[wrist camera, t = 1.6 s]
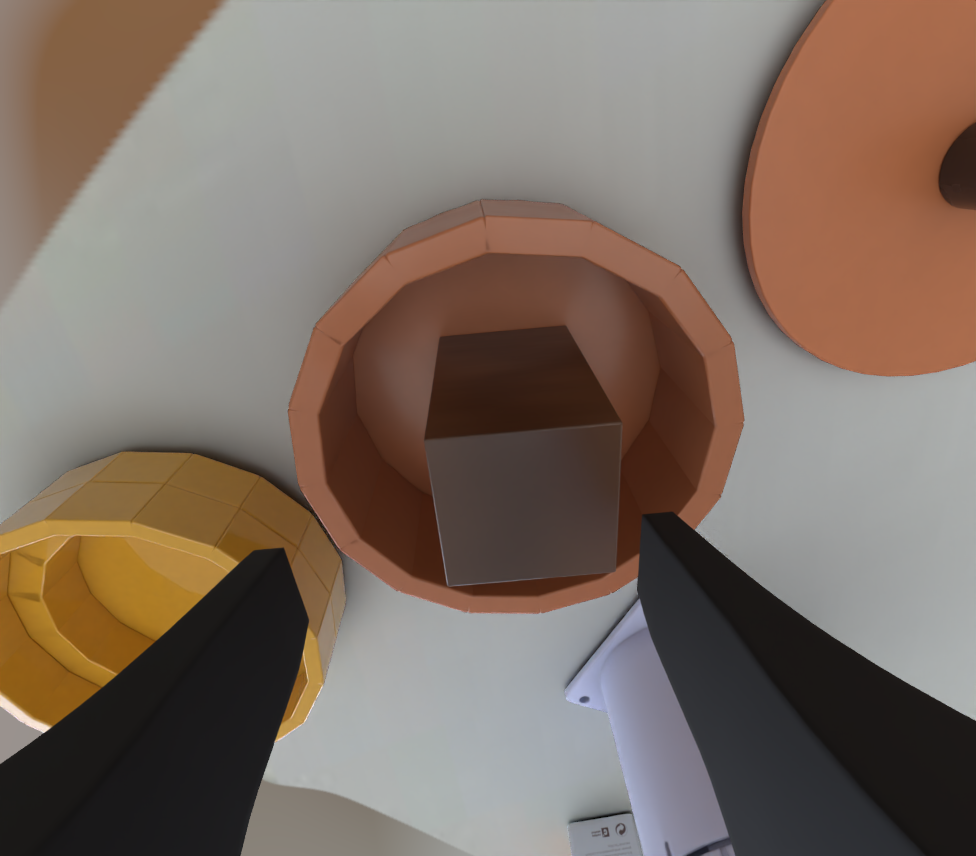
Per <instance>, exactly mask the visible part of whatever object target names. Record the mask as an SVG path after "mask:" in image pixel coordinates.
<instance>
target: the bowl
mask: <svg viewBox="0 0 976 856" xmlns="http://www.w3.org/2000/svg"><path fill="white" fill-rule="evenodd" d="M282 547H284V549H285V552H286V555H287V558H288V561H289V563H290V566H291V569H292V572H293V575H294V578H295V581H296V583H297V586H298V589H299V592H300V595H301V598H302V600H303V603H304V606H305V609H306V612H307V615H308V618H309V624H308V629H307V634H306V640H305V645H304V650H303V654H302V659H301V663H300V668H299V671H298V675H297V678H296V681H295V684H294V687H293V690H292V693H291V696H290V699H289V702H288V705H287V708H286V711H285V714H284V717H283V719H282V722H281V725H280V728H279V731H278V734H277V737H276V740H275V743H276V742H277V741H279V740H280V739H282V738H283V737H284V736H286V735H287V734H289V733H290V732H292V731H293V730H295V729H296V728H297V727H299V726H300V725H302V724H303V723H304V722H305V721H306V720H307V718H308V716H309V714H310V712H311V710H312V708H313V706H314V704H315V701H316V699H317V697H318V695H319V693H320V691H321V689H322V687H323V685H324V682H325V679H326V675H327V671H328V668H329V664H330V660H331V656H332V653H333V649H334V645H335V641H336V638H337V634H338V631H339V627H340V623H341V619H342V616H343V612H344V608H345V605H346V594H345V585H344V576H343V566H342V559H341V558H340V556H339V554H338V553H337V551H336V550H335V548H334V546H333V545H332V543H331V542H330V540H329V539H328V537H327V536H326V534H325V533H324V531H323V530H322V528H321V526H320V525H319V523H318V522H317V520H316V519H315V517H314V516H313V515H312V514H311V512H309V511H308V510H307V509H305V508H304V507H302V506H301V505H300V504H298V503H297V502H296V501H294V500H293V499H292V498H290V497H289V496H287V495H286V494H285V493H283V492H282V491H281V490H279V489H278V488H277V487H275V486H274V485H272V484H271V483H270V482H268V481H267V480H266V479H264V478H263V477H260V476H259V475H257V474H254V473H251V472H248V471H245V470H242V469H239V468H236V467H233V466H230V465H227V464H224V463H221V462H218V461H215V460H213V459H210V458H207V457H204V456H201V455H198V454H193V453H171V452H128V451H126V452H124V451H123V452H120V453H117V454H114V455H111V456H109V457H106V458H103V459H100V460H97V461H95V462H92V463H89V464H86V465H84V466H81V467H78V468H75V469H73V470H70V471H67V472H66V473H65V474H63V475H62V476H61V477H60V478H58V479H57V480H56V481H55V482H53V483H52V484H51V485H50V486H48V487H47V488H46V489H45V490H43V491H42V492H41V493H40V494H38V495H37V496H36V497H35V498H33V499H32V500H31V501H30V502H28V503H27V504H26V505H25V506H23V507H22V508H20V509H19V510H18V511H17V512H15V513H14V514H13V515H12V516H10V517H9V518H8V519H7V520H5V521H4V522H3V523H2V524H0V706H1V707H2V708H4V709H5V710H6V711H7V712H9V713H10V714H12V715H13V716H14V717H15V718H16V719H18V720H19V721H21V722H22V723H24V724H25V725H27V726H30V727H32V728H35V729H37V730H39V731H41V732H44V733H45V732H46V731H47V730H49V729H50V728H51V727H52V726H54V725H55V724H56V723H58V722H59V721H60V720H62V719H63V718H64V717H65V716H67V715H68V714H69V713H71V712H72V711H73V710H75V709H76V708H77V707H78V706H80V705H81V704H82V703H84V702H85V701H86V700H87V699H89V698H90V697H91V696H92V695H93V694H95V693H96V692H97V691H98V690H100V689H101V688H102V687H103V686H105V685H106V684H107V683H108V682H109V681H111V680H112V679H113V678H114V677H115V676H116V675H118V674H119V673H120V672H121V671H122V670H123V669H124V668H126V667H127V666H128V665H129V664H130V663H131V662H132V661H134V660H135V659H136V658H137V657H138V656H139V655H140V654H142V653H143V652H144V651H145V650H146V649H147V648H148V647H150V646H151V645H152V644H153V643H154V642H155V641H156V640H158V639H159V638H160V637H161V636H162V635H163V634H164V633H166V632H167V631H168V630H169V629H170V628H171V627H172V626H173V625H174V624H175V623H176V622H177V621H178V620H180V619H181V618H182V617H183V616H184V615H185V614H186V613H187V612H188V611H189V610H190V609H191V608H192V607H193V606H194V605H196V604H197V603H198V602H199V601H200V600H201V599H202V598H203V597H204V596H205V595H206V594H207V593H208V592H209V591H210V590H211V589H212V588H213V587H215V586H216V585H217V584H218V583H219V582H220V581H221V580H222V579H223V578H224V577H225V576H226V575H227V574H228V573H229V572H230V571H231V570H232V569H233V568H235V567H236V566H237V565H238V564H239V563H240V562H241V561H242V560H243V559H244V558H245V557H247V556H248V555H249V554H250V553H251V552H252V551H254V550H261V549H271V548H282Z"/></svg>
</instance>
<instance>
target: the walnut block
mask: <svg viewBox="0 0 976 856" xmlns="http://www.w3.org/2000/svg"><path fill="white" fill-rule="evenodd" d="M622 427H623V423H622V421H621V419H620V418H619V416H618V414H617V412H616V411H615V409H614V407H613V406H612V404H611V402H610V400H609V399H608V397H607V395H606V393H605V392H604V390H603V388H602V386H601V385H600V383H599V381H598V380H597V378H596V376H595V374H594V373H593V371H592V369H591V367H590V366H589V364H588V362H587V361H586V359H585V357H584V355H583V354H582V352H581V350H580V348H579V347H578V345H577V343H576V341H575V340H574V338H573V336H572V335H571V333H570V331H569V329H568V328H567V326H565V325H564V326H553V327H542V328H531V329H520V330H509V331H498V332H487V333H476V334H465V335H454V336H442V337H440V338H439V344H438V350H437V357H436V364H435V370H434V377H433V383H432V390H431V397H430V403H429V410H428V417H427V423H426V430H425V437H424V445H425V452H426V458H427V464H428V470H429V477H430V483H431V489H432V495H433V501H434V508H435V514H436V520H437V526H438V533H439V539H440V545H441V551H442V558H443V564H444V570H445V576H446V583H447V586H449V587H450V586H462V585H473V584H485V583H496V582H508V581H519V580H531V579H542V578H554V577H565V576H577V575H588V574H600V573H611V572H615V571H616V560H617V537H618V515H619V493H620V471H621V449H622Z"/></svg>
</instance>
